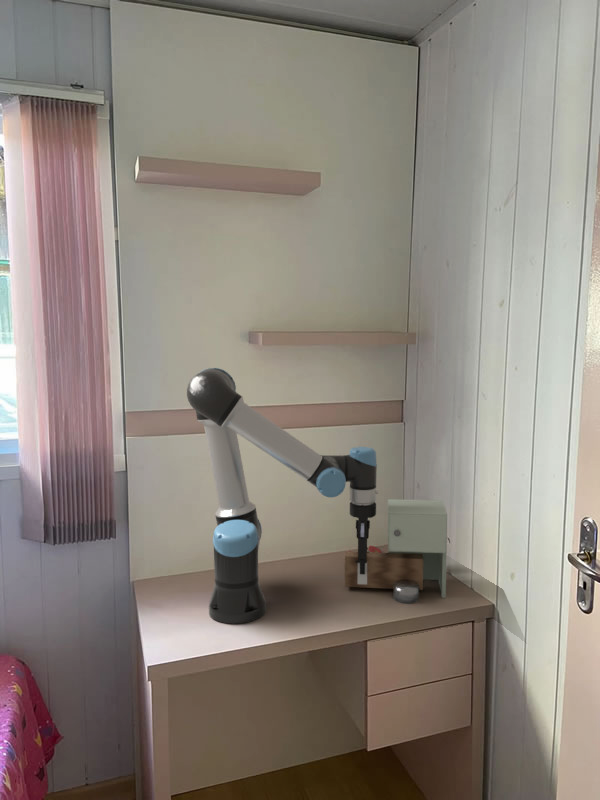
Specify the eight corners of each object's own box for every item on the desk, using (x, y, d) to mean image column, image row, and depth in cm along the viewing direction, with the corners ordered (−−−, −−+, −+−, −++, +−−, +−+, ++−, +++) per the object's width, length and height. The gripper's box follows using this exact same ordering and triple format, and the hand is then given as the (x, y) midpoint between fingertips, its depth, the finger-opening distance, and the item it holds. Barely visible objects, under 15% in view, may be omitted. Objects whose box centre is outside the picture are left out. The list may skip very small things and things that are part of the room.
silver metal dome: (395, 603, 177) (396, 589, 176) (391, 593, 184) (391, 579, 183) (421, 603, 177) (421, 589, 176) (416, 592, 184) (416, 579, 183)
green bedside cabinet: (387, 598, 180) (388, 514, 178) (387, 576, 196) (388, 499, 193) (446, 600, 178) (447, 516, 175) (441, 578, 194) (442, 500, 191)
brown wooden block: (344, 586, 186) (344, 556, 184) (345, 581, 189) (345, 551, 188) (422, 589, 183) (423, 559, 182) (421, 584, 187) (422, 554, 186)
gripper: (376, 510, 175) (375, 593, 178) (376, 494, 192) (375, 569, 195) (348, 509, 176) (348, 592, 179) (350, 493, 193) (350, 568, 196)
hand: (362, 580), depth 187 cm, fingers closed on brown wooden block, 4 cm apart
